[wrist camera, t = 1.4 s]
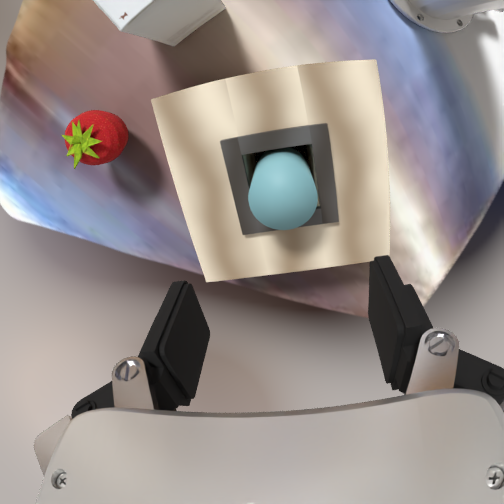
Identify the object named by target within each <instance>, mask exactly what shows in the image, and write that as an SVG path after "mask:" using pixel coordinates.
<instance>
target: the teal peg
mask: <svg viewBox="0 0 504 504" xmlns="http://www.w3.org/2000/svg"><path fill="white" fill-rule="evenodd" d="M248 201H249V206H250V209H251V211H252V213H253V215H254V216H255V217H256V219H257V220H258V221H260V222H261V223H262V224H264V225H265V226H267V227H270V228H272V229H277V230H290V229H294V228H297V227H299V226H301V225H303V224H304V223H306V222H307V221H308V220H309V219H310V218H311V216H312V215H313V214H314V212H315V209H316V207H317V202H318V194H317V189H316V186H315V183H314V180H313V178H312V175H311V172H310V169H309V166H308V163H307V161H306V159H305V158H304V156H303V155H302V154H301V153H300V152H298V151H297V150H295V149H293V148H290V147H286V148H279V149H273V150H267V151H266V152H264V153H263V154H262V155H261V157H260V158H259V160H258V162H257V164H256V168H255V172H254V175H253V179H252V182H251V186H250V189H249V195H248Z"/></svg>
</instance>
